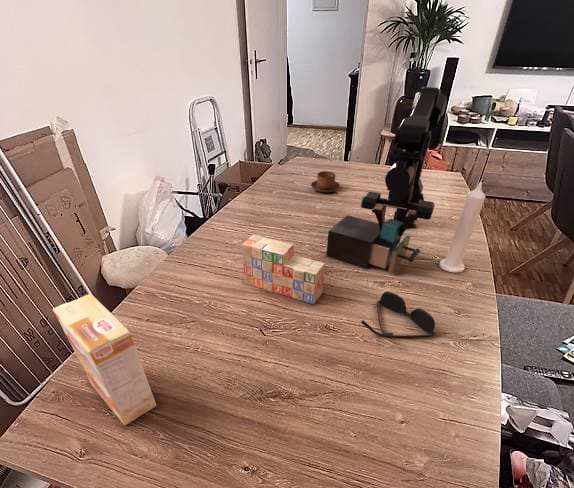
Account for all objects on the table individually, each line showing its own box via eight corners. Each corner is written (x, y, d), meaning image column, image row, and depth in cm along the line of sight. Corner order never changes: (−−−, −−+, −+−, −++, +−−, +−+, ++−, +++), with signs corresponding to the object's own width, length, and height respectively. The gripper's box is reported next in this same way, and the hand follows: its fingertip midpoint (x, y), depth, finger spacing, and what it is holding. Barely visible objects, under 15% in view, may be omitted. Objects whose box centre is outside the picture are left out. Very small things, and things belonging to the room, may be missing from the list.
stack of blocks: (322, 293, 102) (326, 252, 93) (313, 305, 98) (316, 264, 89) (255, 272, 109) (253, 233, 101) (243, 283, 105) (240, 243, 97)
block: (379, 237, 108) (382, 223, 105) (387, 232, 110) (390, 218, 107) (393, 242, 106) (396, 228, 103) (401, 237, 108) (404, 222, 105)
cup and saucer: (307, 185, 160) (307, 170, 156) (333, 183, 163) (334, 168, 159) (317, 196, 151) (317, 180, 147) (344, 193, 154) (345, 177, 150)
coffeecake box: (89, 383, 77) (50, 308, 64) (122, 365, 81) (91, 291, 68) (123, 427, 69) (87, 352, 56) (158, 405, 73) (131, 330, 60)
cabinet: (382, 251, 119) (387, 225, 113) (366, 269, 111) (371, 242, 105) (344, 239, 124) (347, 215, 119) (326, 256, 116) (328, 230, 111)
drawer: (419, 260, 113) (425, 239, 109) (406, 277, 106) (412, 256, 102) (367, 245, 120) (371, 225, 115) (352, 260, 113) (355, 240, 108)
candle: (465, 274, 109) (498, 188, 93) (440, 271, 110) (468, 185, 94) (462, 261, 115) (492, 178, 98) (438, 259, 116) (464, 176, 99)
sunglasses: (344, 323, 92) (346, 307, 89) (381, 301, 99) (385, 285, 96) (399, 361, 83) (404, 345, 79) (436, 334, 90) (442, 318, 86)
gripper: (444, 173, 100) (428, 228, 110) (375, 164, 105) (366, 217, 116) (438, 188, 92) (422, 245, 102) (364, 176, 98) (356, 232, 108)
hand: (391, 234), depth 107 cm, fingers closed on block, 5 cm apart
